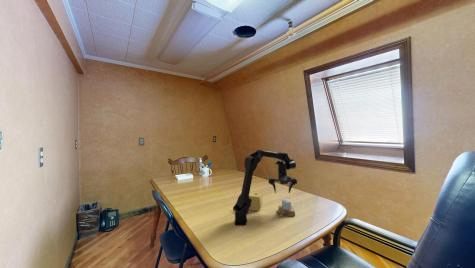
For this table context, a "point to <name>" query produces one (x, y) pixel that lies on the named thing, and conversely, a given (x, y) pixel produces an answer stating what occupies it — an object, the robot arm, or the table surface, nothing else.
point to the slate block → (286, 204)
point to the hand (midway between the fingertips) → (282, 193)
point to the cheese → (256, 201)
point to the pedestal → (286, 212)
